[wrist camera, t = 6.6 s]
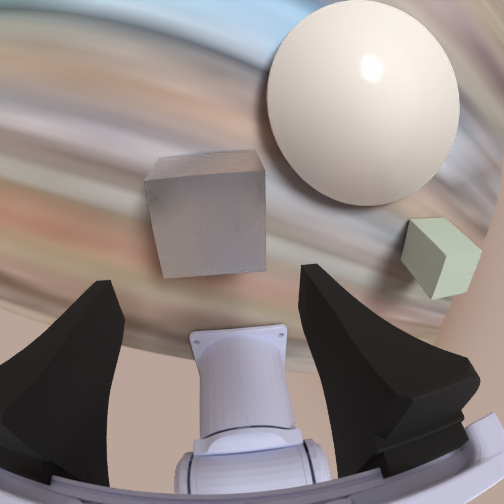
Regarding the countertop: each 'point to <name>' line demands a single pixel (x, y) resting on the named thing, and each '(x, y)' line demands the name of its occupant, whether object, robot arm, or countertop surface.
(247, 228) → the grey square block
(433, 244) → the block
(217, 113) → the countertop surface
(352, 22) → the cream round disc
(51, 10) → the countertop surface
